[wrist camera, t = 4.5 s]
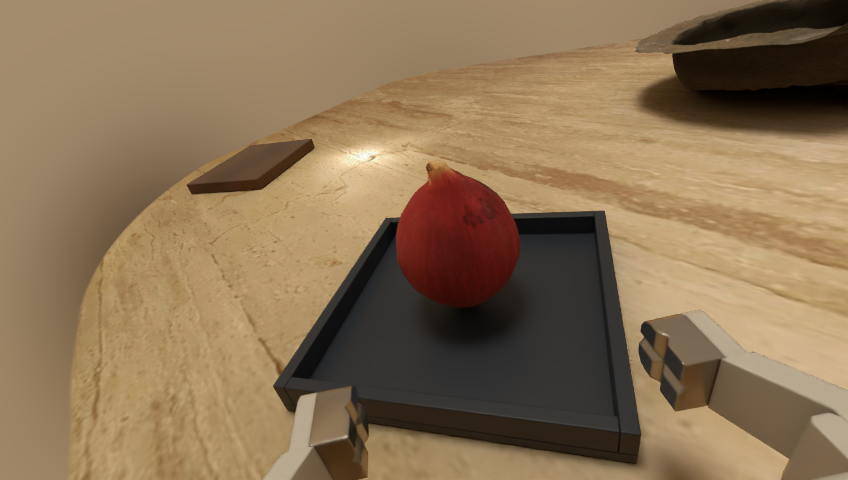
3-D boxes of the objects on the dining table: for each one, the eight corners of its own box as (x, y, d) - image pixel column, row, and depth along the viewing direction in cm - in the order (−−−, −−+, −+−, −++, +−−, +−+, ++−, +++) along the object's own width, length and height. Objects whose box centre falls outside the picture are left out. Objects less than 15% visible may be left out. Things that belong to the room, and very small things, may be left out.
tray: (286, 410, 18) (272, 386, 17) (391, 237, 30) (385, 217, 29) (637, 464, 14) (641, 435, 13) (603, 234, 25) (604, 210, 24)
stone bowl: (1129, 94, 26) (1241, -85, 21) (689, 174, 32) (698, 50, 27) (843, 36, 46) (867, -61, 41) (608, 92, 52) (605, 13, 47)
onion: (509, 260, 24) (494, 126, 19) (539, 330, 19) (528, 171, 15) (411, 279, 24) (376, 151, 20) (416, 354, 19) (371, 204, 15)
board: (191, 193, 47) (186, 184, 46) (253, 153, 56) (249, 145, 56) (261, 189, 44) (256, 179, 43) (314, 147, 53) (311, 138, 52)
